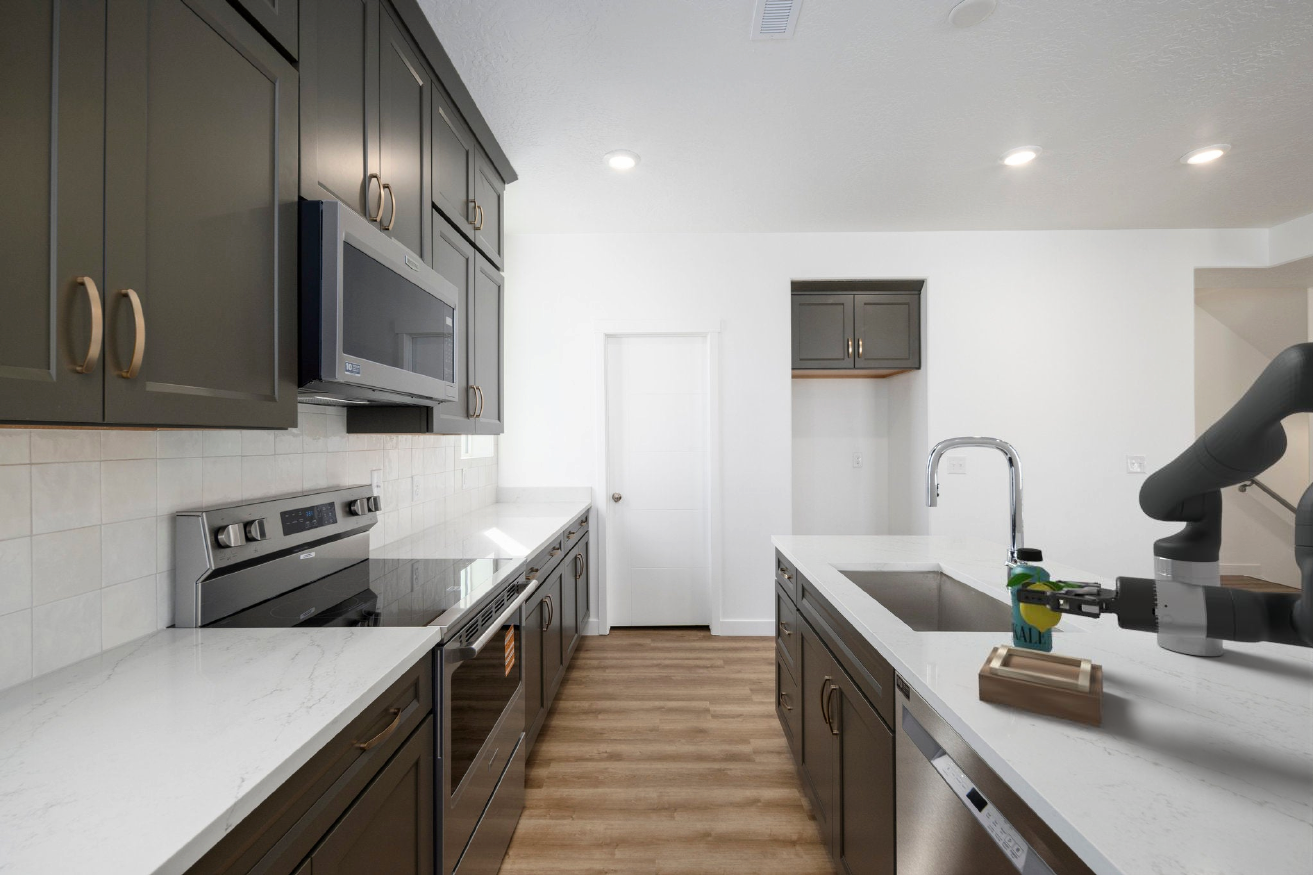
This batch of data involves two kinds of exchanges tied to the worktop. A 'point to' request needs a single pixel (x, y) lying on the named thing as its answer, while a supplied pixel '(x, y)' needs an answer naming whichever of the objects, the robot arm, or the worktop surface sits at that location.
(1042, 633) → the beverage bottle
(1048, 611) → the lemon
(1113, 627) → the worktop surface
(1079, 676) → the stand
